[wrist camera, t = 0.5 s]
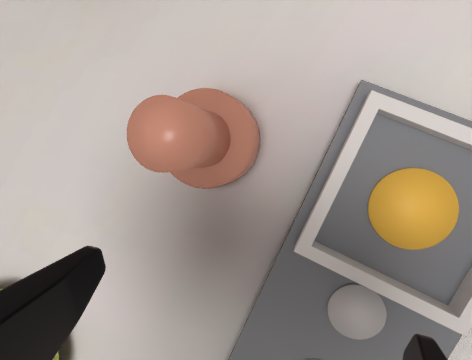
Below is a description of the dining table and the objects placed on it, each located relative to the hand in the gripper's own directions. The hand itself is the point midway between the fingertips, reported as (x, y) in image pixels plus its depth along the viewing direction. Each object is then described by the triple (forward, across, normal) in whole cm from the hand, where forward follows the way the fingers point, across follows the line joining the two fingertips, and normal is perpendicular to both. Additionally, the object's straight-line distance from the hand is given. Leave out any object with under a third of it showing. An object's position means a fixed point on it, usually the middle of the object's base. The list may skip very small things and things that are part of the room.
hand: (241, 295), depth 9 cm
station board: (+11, -6, +10) cm, 16 cm away
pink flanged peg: (+15, +6, +3) cm, 16 cm away
